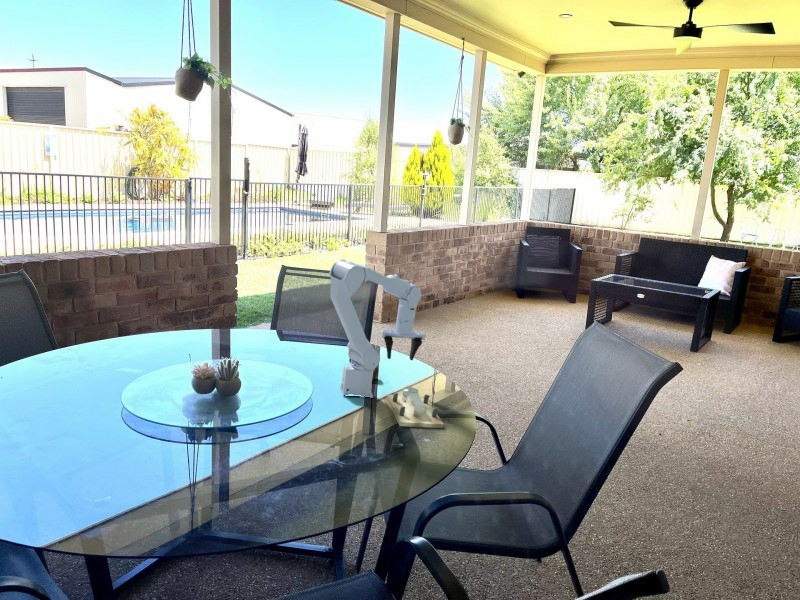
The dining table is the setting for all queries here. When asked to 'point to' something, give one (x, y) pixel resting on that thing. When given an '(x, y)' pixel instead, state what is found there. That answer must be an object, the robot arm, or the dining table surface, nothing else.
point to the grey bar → (413, 401)
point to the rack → (408, 419)
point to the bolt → (373, 371)
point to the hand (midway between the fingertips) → (400, 358)
